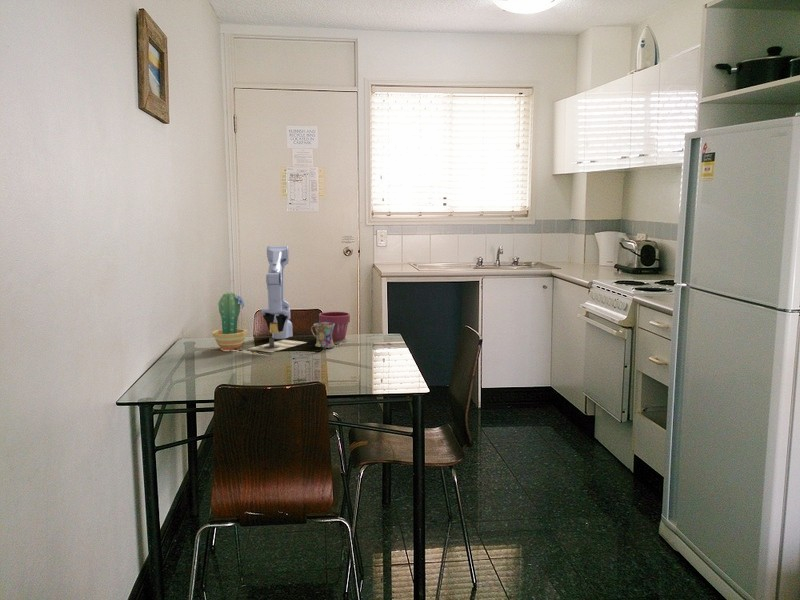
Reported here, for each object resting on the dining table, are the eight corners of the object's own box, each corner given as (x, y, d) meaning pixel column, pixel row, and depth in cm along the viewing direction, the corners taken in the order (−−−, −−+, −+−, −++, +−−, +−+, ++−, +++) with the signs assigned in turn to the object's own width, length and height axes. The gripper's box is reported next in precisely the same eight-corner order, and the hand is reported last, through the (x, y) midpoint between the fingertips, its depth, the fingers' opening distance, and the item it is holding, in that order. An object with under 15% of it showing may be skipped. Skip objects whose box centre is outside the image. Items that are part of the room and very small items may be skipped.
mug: (339, 346, 302) (338, 323, 301) (326, 350, 294) (326, 326, 293) (318, 344, 308) (317, 321, 307) (305, 347, 300) (304, 324, 299)
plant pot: (356, 339, 318) (355, 312, 316) (338, 345, 306) (337, 317, 304) (332, 337, 325) (331, 310, 324) (313, 342, 313) (312, 314, 312)
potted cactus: (232, 354, 289) (230, 295, 285) (204, 351, 295) (201, 294, 292) (255, 347, 303) (253, 291, 299) (228, 344, 309) (225, 290, 306)
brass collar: (275, 330, 302) (275, 321, 301) (284, 331, 299) (283, 322, 299) (267, 332, 297) (267, 323, 297) (276, 333, 295) (276, 324, 294)
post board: (284, 342, 314) (283, 330, 313) (307, 344, 307) (307, 333, 306) (247, 351, 294) (246, 339, 293) (271, 354, 286) (271, 342, 286)
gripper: (256, 300, 297) (257, 330, 298) (281, 302, 289) (282, 333, 291) (267, 298, 303) (268, 328, 304) (292, 300, 295) (293, 331, 297)
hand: (275, 330), depth 298 cm, fingers closed on brass collar, 5 cm apart
